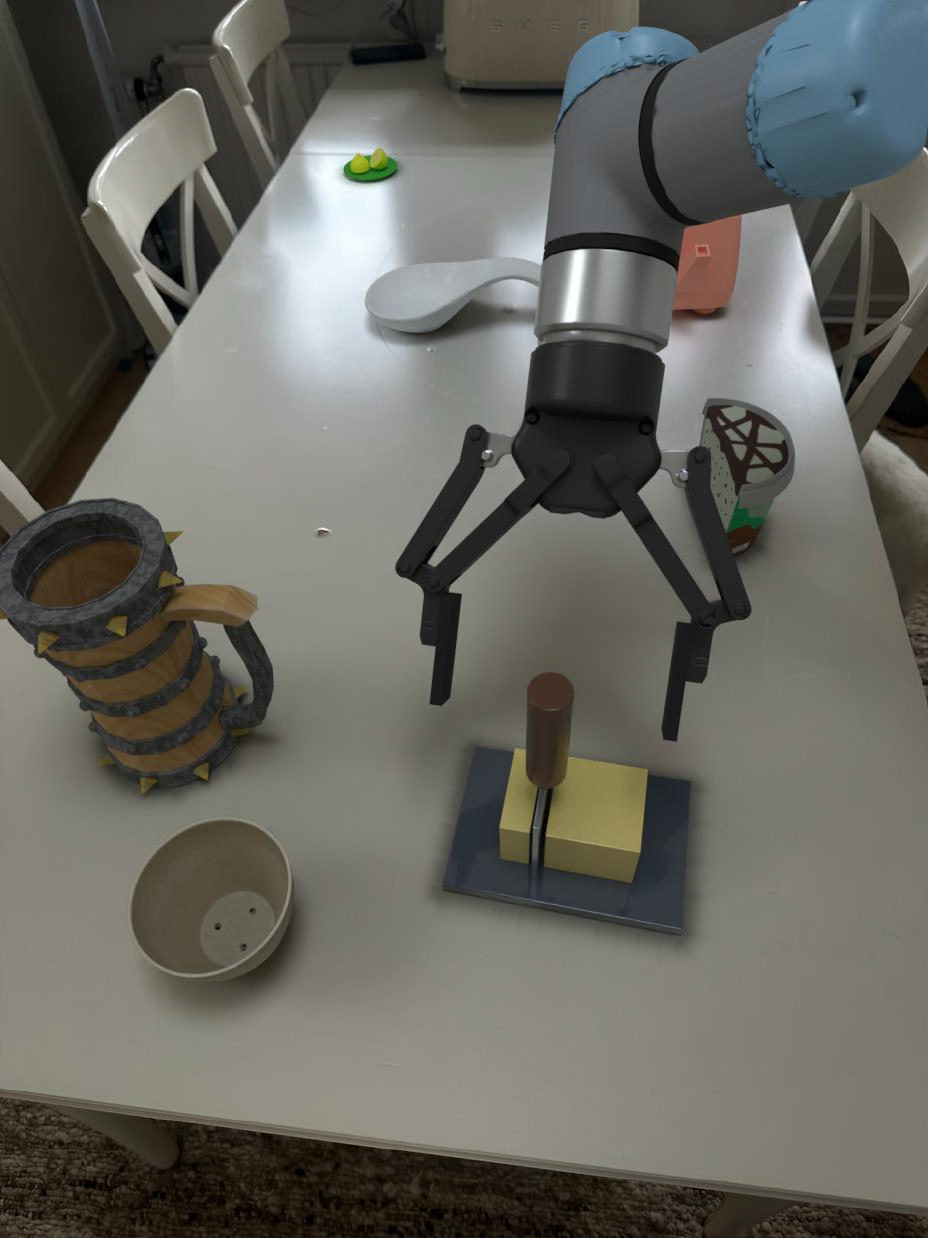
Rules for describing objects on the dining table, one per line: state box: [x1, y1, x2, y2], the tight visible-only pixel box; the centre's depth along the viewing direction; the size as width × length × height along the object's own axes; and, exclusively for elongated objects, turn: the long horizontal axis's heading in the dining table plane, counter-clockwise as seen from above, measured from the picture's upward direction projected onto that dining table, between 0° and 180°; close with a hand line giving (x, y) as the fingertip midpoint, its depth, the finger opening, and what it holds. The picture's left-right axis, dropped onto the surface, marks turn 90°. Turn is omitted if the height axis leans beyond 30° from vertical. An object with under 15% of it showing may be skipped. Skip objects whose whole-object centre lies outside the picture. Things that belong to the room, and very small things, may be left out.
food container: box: [698, 397, 796, 559], centre depth 76 cm, size 12×6×10 cm, turn 4°
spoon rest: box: [364, 256, 542, 334], centre depth 100 cm, size 24×12×7 cm, turn 84°
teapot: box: [673, 215, 743, 315], centre depth 98 cm, size 22×13×14 cm, turn 0°
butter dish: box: [442, 745, 692, 936], centre depth 59 cm, size 16×11×6 cm
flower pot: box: [126, 815, 295, 983], centre depth 55 cm, size 10×10×7 cm
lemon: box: [343, 147, 398, 181], centre depth 127 cm, size 8×8×3 cm
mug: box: [0, 497, 275, 796], centre depth 60 cm, size 13×17×20 cm
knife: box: [525, 671, 575, 880], centre depth 54 cm, size 3×8×17 cm, turn 168°
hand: (551, 718), depth 51 cm, fingers open, 13 cm apart
